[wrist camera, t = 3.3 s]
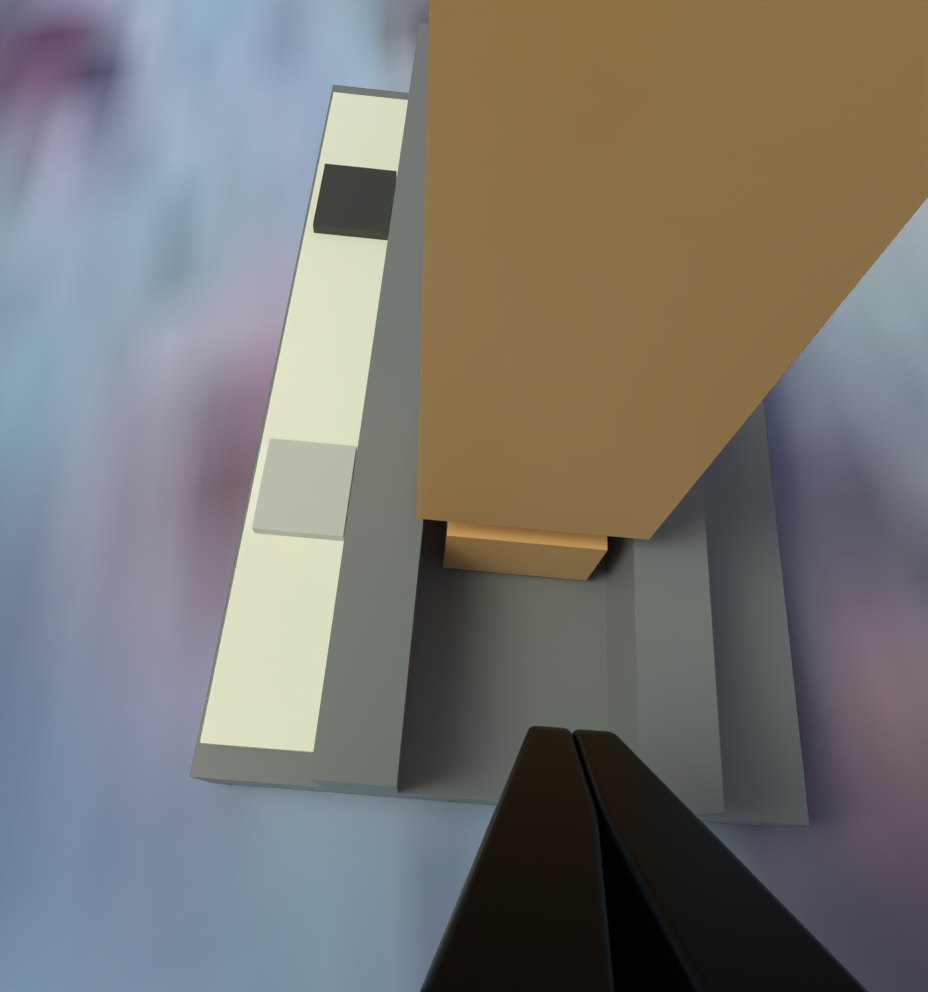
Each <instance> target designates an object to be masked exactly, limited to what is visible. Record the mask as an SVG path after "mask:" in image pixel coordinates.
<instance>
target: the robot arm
mask: <svg viewBox="0 0 928 992" xmlns="http://www.w3.org/2000/svg"><path fill="white" fill-rule="evenodd" d="M420 992H868V991H867V990H866V989H865V988H864V987H863V986H862V985H861V984H860V983H859V982H858V981H857V980H856V979H855V978H854V977H853V976H852V975H851V974H850V973H849V972H848V971H847V969H846V968H845V967H844V966H843V965H842V964H841V963H840V962H839V961H838V960H837V959H836V958H835V957H834V956H833V955H832V954H831V953H830V952H829V951H828V950H827V949H826V948H825V947H824V946H823V945H822V944H821V943H820V942H819V941H818V940H817V939H816V938H815V937H814V936H813V935H812V934H811V933H810V932H809V931H808V930H807V929H806V928H805V927H804V926H803V925H802V924H801V922H800V921H799V920H798V919H797V918H796V917H795V916H794V915H793V914H792V913H791V912H790V911H789V910H788V909H787V908H786V907H785V906H784V905H783V904H782V903H781V902H780V901H779V900H778V899H777V898H776V897H775V896H774V895H773V894H772V893H771V892H770V891H769V890H768V889H767V888H766V887H765V886H764V885H763V884H762V883H761V882H760V881H759V880H758V879H757V878H756V877H755V876H754V874H753V873H752V872H751V871H750V870H749V869H748V868H747V867H746V866H745V865H744V864H743V863H742V862H741V861H740V860H739V859H738V858H737V857H736V856H735V855H734V854H733V853H732V852H731V851H730V850H729V849H728V848H727V847H726V846H725V845H724V844H723V843H722V842H721V841H720V840H719V839H718V838H717V837H716V836H715V835H714V834H713V833H712V832H711V831H710V830H709V829H708V828H707V826H706V825H705V824H704V823H703V822H702V821H701V820H700V819H699V818H698V817H697V816H696V815H695V814H694V813H693V812H692V811H691V810H690V809H689V808H688V807H687V806H686V805H685V804H684V803H683V802H682V801H681V800H680V799H679V798H678V797H677V796H676V795H675V794H674V793H673V792H672V791H671V790H670V789H669V788H668V787H667V786H666V785H665V784H664V783H663V782H662V781H661V779H660V778H659V777H658V776H657V775H656V774H655V773H654V772H653V771H652V770H651V769H650V768H649V767H648V766H647V765H646V764H645V763H644V762H643V761H642V760H641V759H640V758H639V757H638V756H637V755H636V754H635V753H634V752H633V751H632V750H631V749H630V748H629V747H628V746H627V745H626V744H625V743H624V742H623V741H622V740H621V739H620V738H619V737H618V736H617V735H616V734H614V733H612V732H609V731H598V730H585V729H577V730H575V731H574V732H573V733H571V731H569V730H568V729H566V728H561V727H549V726H537V725H536V726H532V727H530V728H529V729H528V731H527V734H526V736H525V738H524V741H523V743H522V746H521V748H520V751H519V753H518V755H517V758H516V760H515V763H514V765H513V767H512V770H511V772H510V775H509V777H508V780H507V782H506V784H505V787H504V789H503V792H502V794H501V797H500V799H499V801H498V804H497V806H496V809H495V811H494V814H493V816H492V818H491V821H490V823H489V826H488V828H487V831H486V833H485V835H484V838H483V840H482V843H481V845H480V848H479V850H478V852H477V855H476V857H475V860H474V862H473V865H472V867H471V869H470V872H469V874H468V877H467V879H466V882H465V884H464V886H463V889H462V891H461V894H460V896H459V899H458V901H457V903H456V906H455V908H454V911H453V913H452V915H451V918H450V920H449V923H448V925H447V928H446V930H445V932H444V935H443V937H442V940H441V942H440V945H439V947H438V949H437V952H436V954H435V957H434V959H433V962H432V964H431V966H430V969H429V971H428V974H427V976H426V979H425V981H424V983H423V986H422V988H421V991H420Z"/></svg>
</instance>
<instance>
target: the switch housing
mask: <svg viewBox="0 0 928 992" xmlns="http://www.w3.org/2000/svg"><path fill="white" fill-rule="evenodd" d="M428 37H429V24H426V23H419V29H418V36H417V42H416V49H415V56H414V63H413V70H412V77H411V84H410V91H409V93H403V92H394V91H385V90H376V89H366V88H357V87H348V86H339V85H333V87H332V92H331V97H330V102H329V107H328V112H327V116H326V121H325V126H324V131H323V136H322V141H321V145H320V150H319V155H318V160H317V165H316V170H315V174H314V179H313V184H312V189H311V194H310V198H309V203H308V208H307V213H306V218H305V223H304V227H303V232H302V237H301V242H300V247H299V252H298V256H297V261H296V266H295V271H294V276H293V281H292V285H291V290H290V295H289V300H288V305H287V310H286V314H285V319H284V324H283V329H282V334H281V339H280V343H279V348H278V353H277V358H276V363H275V368H274V372H273V377H272V382H271V387H270V392H269V396H268V401H267V406H266V411H265V416H264V421H263V425H262V430H261V435H260V440H259V445H258V450H257V454H256V459H255V464H254V469H253V474H252V479H251V483H250V488H249V493H248V498H247V503H246V508H245V512H244V517H243V522H242V527H241V532H240V537H239V541H238V546H237V551H236V556H235V561H234V565H233V570H232V575H231V580H230V585H229V590H228V594H227V599H226V604H225V609H224V614H223V619H222V623H221V628H220V633H219V638H218V643H217V648H216V652H215V657H214V662H213V667H212V672H211V677H210V681H209V686H208V691H207V696H206V701H205V706H204V710H203V715H202V720H201V725H200V730H199V735H198V739H197V744H196V749H195V754H194V759H193V763H192V768H191V773H190V777H193V778H196V779H200V780H204V781H207V782H211V783H222V784H234V785H247V786H260V787H272V788H285V789H298V790H310V791H323V792H335V793H348V794H361V795H373V796H386V797H399V798H411V799H424V800H437V801H449V802H462V803H475V804H487V805H497V804H498V801H499V799H500V797H501V794H502V792H503V789H504V787H505V784H506V782H507V780H508V777H509V775H510V772H511V770H512V767H513V765H514V763H515V760H516V758H517V755H518V753H519V751H520V748H521V746H522V743H523V741H524V738H525V736H526V734H527V731H528V729H529V728H530V727H532V726H536V725H537V726H549V727H561V728H566V729H568V730H569V731H571V733H573V732H574V731H575V730H577V729H585V730H598V731H609V732H612V733H614V734H616V735H617V736H618V737H619V738H620V739H621V740H622V741H623V742H624V743H625V744H626V745H627V746H628V747H629V748H630V749H631V750H632V751H633V752H634V753H635V754H636V755H637V756H638V757H639V758H640V759H641V760H642V761H643V762H644V763H645V764H646V765H647V766H648V767H649V768H650V769H651V770H652V771H653V772H654V773H655V774H656V775H657V776H658V777H659V778H660V779H661V781H662V782H663V783H664V784H665V785H666V786H667V787H668V788H669V789H670V790H671V791H672V792H673V793H674V794H675V795H676V796H677V797H678V798H679V799H680V800H681V801H682V802H683V803H684V804H685V805H686V806H687V807H688V808H689V809H690V810H691V811H692V812H693V813H694V814H695V815H696V816H697V817H698V818H699V819H700V820H701V821H703V822H715V823H728V824H741V825H753V826H766V827H780V826H810V825H809V816H808V807H807V797H806V788H805V779H804V770H803V761H802V751H801V742H800V733H799V724H798V714H797V705H796V696H795V687H794V678H793V668H792V659H791V650H790V641H789V632H788V622H787V613H786V604H785V595H784V586H783V576H782V567H781V558H780V549H779V540H778V530H777V521H776V512H775V503H774V494H773V484H772V475H771V466H770V457H769V447H768V438H767V429H766V420H765V411H764V401H763V400H762V401H761V403H760V404H759V405H758V406H757V408H756V409H755V410H754V411H753V412H752V414H751V415H750V416H749V417H748V419H747V420H746V421H745V422H744V423H743V425H742V426H741V427H740V428H739V430H738V431H737V432H736V433H735V435H734V436H733V437H732V438H731V439H730V441H729V442H728V443H727V444H726V446H725V447H724V448H723V449H722V451H721V452H720V453H719V454H718V455H717V457H716V458H715V459H714V460H713V462H712V463H711V464H710V465H709V467H708V468H707V469H706V470H705V471H704V473H703V474H702V475H701V476H700V478H699V479H698V480H697V481H696V482H695V484H694V485H693V486H692V487H691V489H690V490H689V491H688V492H687V494H686V495H685V496H684V497H683V498H682V500H681V501H680V502H679V503H678V505H677V506H676V507H675V508H674V510H673V511H672V512H671V513H670V514H669V516H668V517H667V518H666V519H665V521H664V522H663V523H662V524H661V526H660V527H659V528H658V529H657V530H656V532H655V533H654V534H653V535H652V537H651V538H650V539H649V540H647V539H636V538H625V537H614V536H607V543H608V550H607V552H606V553H605V555H604V556H603V557H602V559H601V560H600V562H599V563H598V565H597V566H596V567H595V569H594V570H593V572H592V573H591V575H590V576H589V577H588V579H587V580H586V581H585V580H574V579H563V578H551V577H540V576H529V575H518V574H506V573H495V572H484V571H473V570H461V569H450V568H443V559H444V547H445V536H446V524H447V521H438V520H427V519H416V503H417V464H418V425H419V386H420V348H421V309H422V270H423V231H424V192H425V153H426V114H427V76H428Z"/></svg>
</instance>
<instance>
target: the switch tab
mask: <svg viewBox="0 0 928 992" xmlns="http://www.w3.org/2000/svg"><path fill="white" fill-rule="evenodd" d="M927 197H928V0H429V37H428V76H427V114H426V153H425V192H424V231H423V270H422V309H421V348H420V386H419V425H418V464H417V503H416V519H427V520H438V521H447V524H446V536H445V547H444V559H443V568H450V569H461V570H473V571H484V572H495V573H506V574H518V575H529V576H540V577H551V578H563V579H574V580H585V581H586V580H587V579H588V577H589V576H590V575H591V573H592V572H593V570H594V569H595V567H596V566H597V565H598V563H599V562H600V560H601V559H602V557H603V556H604V555H605V553H606V552H607V550H608V543H607V536H614V537H625V538H636V539H647V540H649V539H650V538H651V537H652V535H653V534H654V533H655V532H656V530H657V529H658V528H659V527H660V526H661V524H662V523H663V522H664V521H665V519H666V518H667V517H668V516H669V514H670V513H671V512H672V511H673V510H674V508H675V507H676V506H677V505H678V503H679V502H680V501H681V500H682V498H683V497H684V496H685V495H686V494H687V492H688V491H689V490H690V489H691V487H692V486H693V485H694V484H695V482H696V481H697V480H698V479H699V478H700V476H701V475H702V474H703V473H704V471H705V470H706V469H707V468H708V467H709V465H710V464H711V463H712V462H713V460H714V459H715V458H716V457H717V455H718V454H719V453H720V452H721V451H722V449H723V448H724V447H725V446H726V444H727V443H728V442H729V441H730V439H731V438H732V437H733V436H734V435H735V433H736V432H737V431H738V430H739V428H740V427H741V426H742V425H743V423H744V422H745V421H746V420H747V419H748V417H749V416H750V415H751V414H752V412H753V411H754V410H755V409H756V408H757V406H758V405H759V404H760V403H761V401H762V400H763V399H764V398H765V396H766V395H767V394H768V393H769V392H770V390H771V389H772V388H773V387H774V385H775V384H776V383H777V382H778V380H779V379H780V378H781V377H782V376H783V374H784V373H785V372H786V371H787V369H788V368H789V367H790V366H791V364H792V363H793V362H794V361H795V360H796V358H797V357H798V356H799V355H800V353H801V352H802V351H803V350H804V349H805V347H806V346H807V345H808V344H809V342H810V341H811V340H812V339H813V337H814V336H815V335H816V334H817V333H818V331H819V330H820V329H821V328H822V326H823V325H824V324H825V323H826V321H827V320H828V319H829V318H830V317H831V315H832V314H833V313H834V312H835V310H836V309H837V308H838V307H839V305H840V304H841V303H842V302H843V301H844V299H845V298H846V297H847V296H848V294H849V293H850V292H851V291H852V290H853V288H854V287H855V286H856V285H857V283H858V282H859V281H860V280H861V278H862V277H863V276H864V275H865V274H866V272H867V271H868V270H869V269H870V267H871V266H872V265H873V264H874V262H875V261H876V260H877V259H878V258H879V256H880V255H881V254H882V253H883V251H884V250H885V249H886V248H887V246H888V245H889V244H890V243H891V242H892V240H893V239H894V238H895V237H896V235H897V234H898V233H899V232H900V231H901V229H902V228H903V227H904V226H905V224H906V223H907V222H908V221H909V219H910V218H911V217H912V216H913V215H914V213H915V212H916V211H917V210H918V208H919V207H920V206H921V205H922V203H923V202H924V201H925V200H926V199H927Z"/></svg>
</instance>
